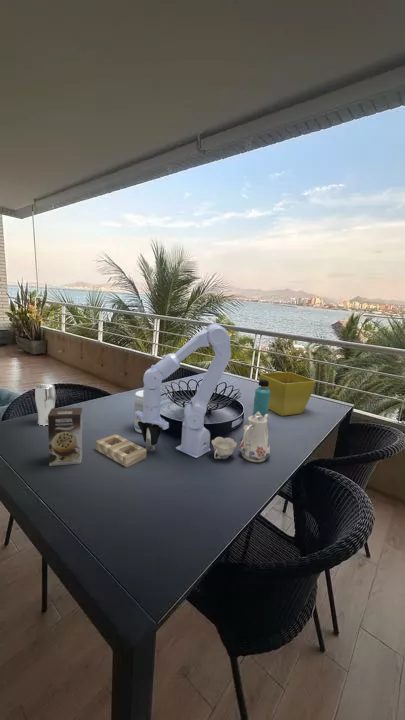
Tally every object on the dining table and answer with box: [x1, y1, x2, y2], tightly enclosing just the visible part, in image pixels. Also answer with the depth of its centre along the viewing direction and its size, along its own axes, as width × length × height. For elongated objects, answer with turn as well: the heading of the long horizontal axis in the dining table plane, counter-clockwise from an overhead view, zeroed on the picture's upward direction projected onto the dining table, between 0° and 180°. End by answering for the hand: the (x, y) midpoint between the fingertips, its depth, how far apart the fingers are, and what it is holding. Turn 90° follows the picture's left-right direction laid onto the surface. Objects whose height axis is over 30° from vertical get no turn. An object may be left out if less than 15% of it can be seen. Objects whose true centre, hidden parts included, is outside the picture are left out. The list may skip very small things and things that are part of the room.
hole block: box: [95, 433, 147, 468], centre depth 105 cm, size 16×8×3 cm, turn 52°
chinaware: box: [210, 411, 271, 463], centre depth 110 cm, size 28×17×17 cm, turn 141°
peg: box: [145, 425, 156, 452], centre depth 109 cm, size 3×3×8 cm
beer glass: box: [34, 383, 56, 427], centre depth 124 cm, size 7×7×15 cm
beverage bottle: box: [252, 379, 270, 421], centre depth 133 cm, size 6×7×20 cm
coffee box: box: [47, 407, 83, 467], centre depth 98 cm, size 9×6×16 cm
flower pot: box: [259, 371, 316, 417], centre depth 154 cm, size 19×19×17 cm
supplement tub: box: [133, 389, 153, 434], centre depth 124 cm, size 10×10×15 cm
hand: (150, 442), depth 109 cm, fingers closed on peg, 3 cm apart
